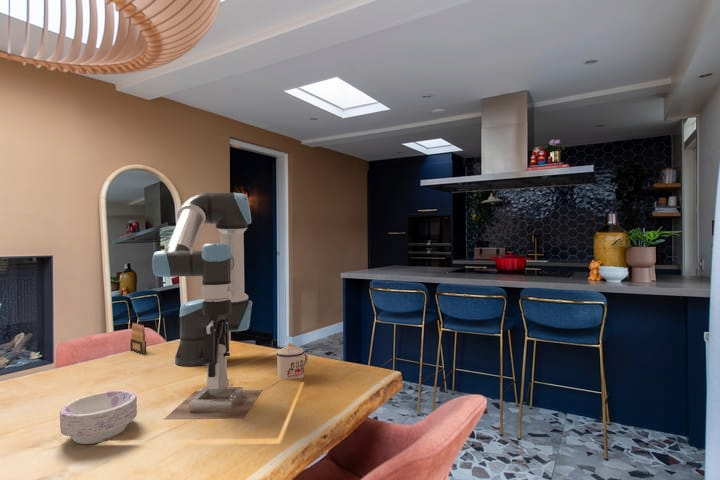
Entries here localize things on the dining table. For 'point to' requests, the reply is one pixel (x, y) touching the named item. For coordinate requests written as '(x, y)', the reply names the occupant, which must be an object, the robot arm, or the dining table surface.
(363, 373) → the dining table surface
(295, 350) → the teacup with lid
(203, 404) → the metal collar
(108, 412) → the paper bowls
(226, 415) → the walnut board
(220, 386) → the salt shaker
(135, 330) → the brown flat upright block
